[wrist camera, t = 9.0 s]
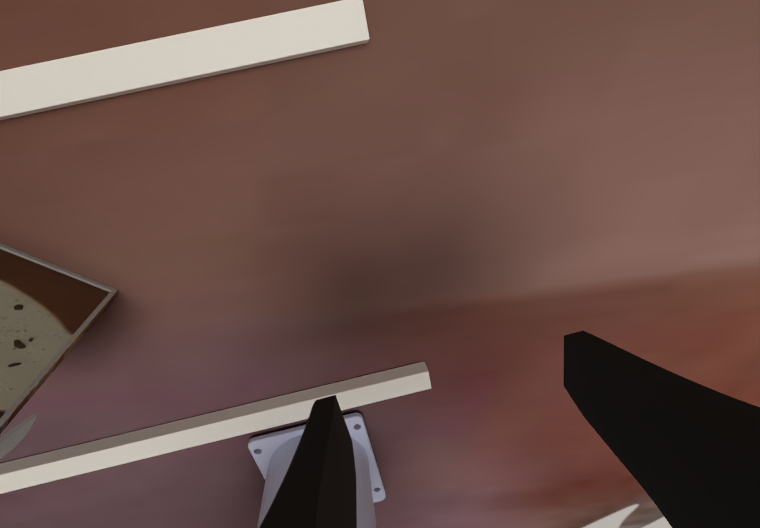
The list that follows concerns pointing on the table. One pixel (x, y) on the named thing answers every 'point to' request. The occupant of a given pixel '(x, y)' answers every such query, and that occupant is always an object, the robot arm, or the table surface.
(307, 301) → the table surface
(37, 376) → the food container
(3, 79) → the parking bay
